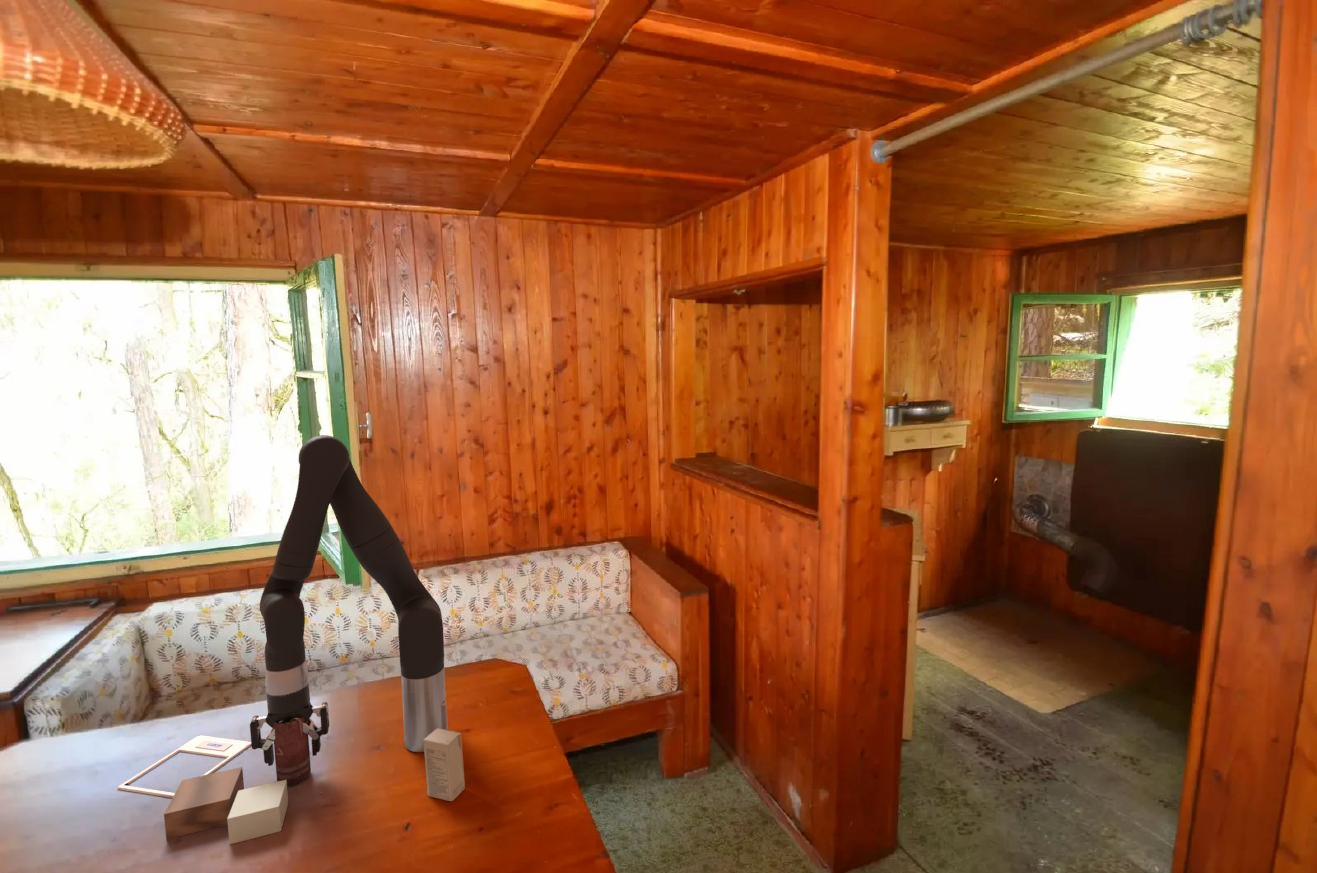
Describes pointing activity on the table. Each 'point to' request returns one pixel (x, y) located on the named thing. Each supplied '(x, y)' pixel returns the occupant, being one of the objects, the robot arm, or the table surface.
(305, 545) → the robot arm
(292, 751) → the can
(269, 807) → the cream block
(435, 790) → the skincare box
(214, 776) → the walnut block
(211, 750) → the photo frame
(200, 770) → the table surface
